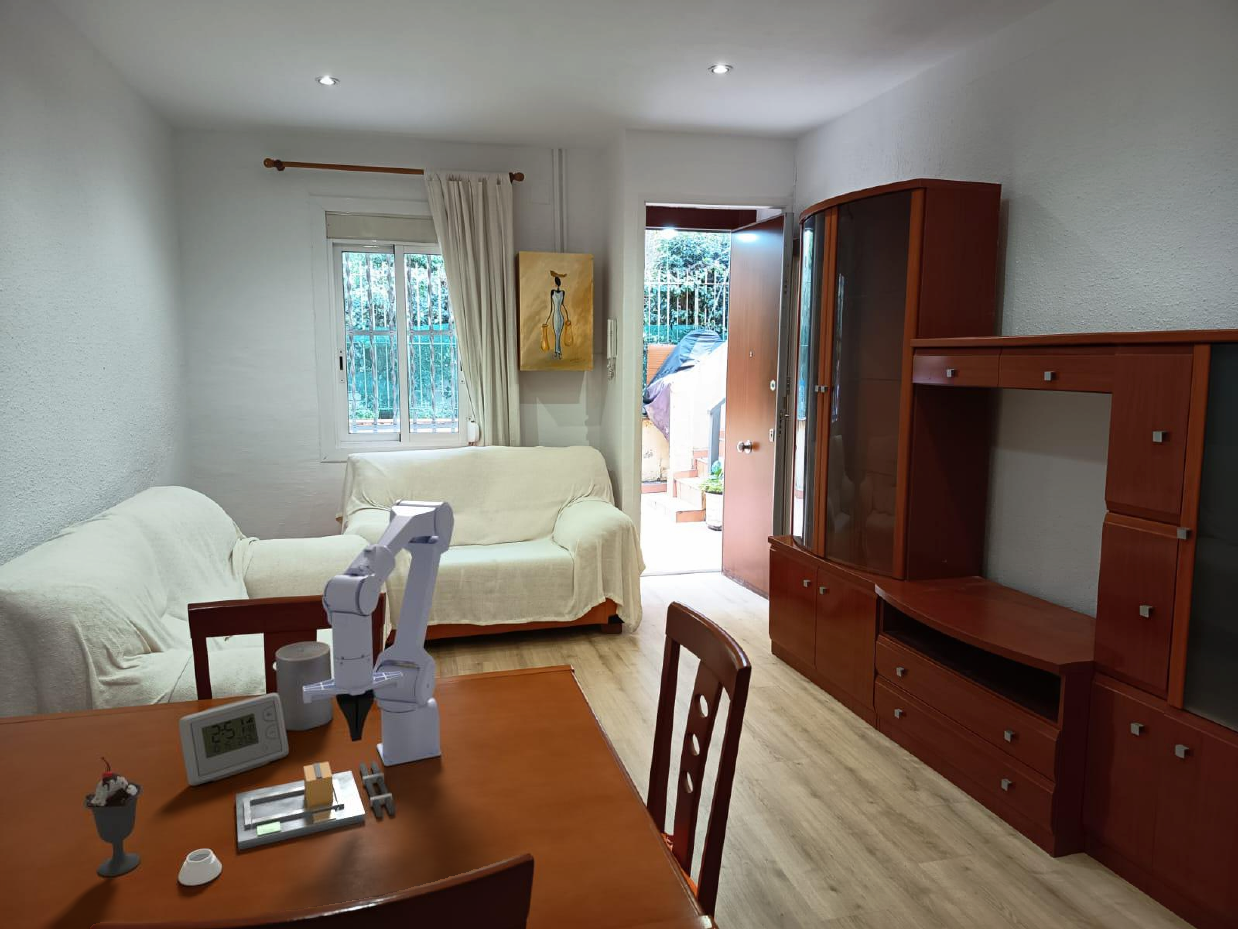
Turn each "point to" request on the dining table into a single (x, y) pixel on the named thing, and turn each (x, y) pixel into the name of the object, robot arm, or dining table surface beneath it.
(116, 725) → the dining table surface
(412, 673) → the robot arm
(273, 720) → the digital clock
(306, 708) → the pillar candle
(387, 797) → the cable bundle
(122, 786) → the sundae
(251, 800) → the grey metal tray
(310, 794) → the cardboard box
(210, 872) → the white hollow cone ring
